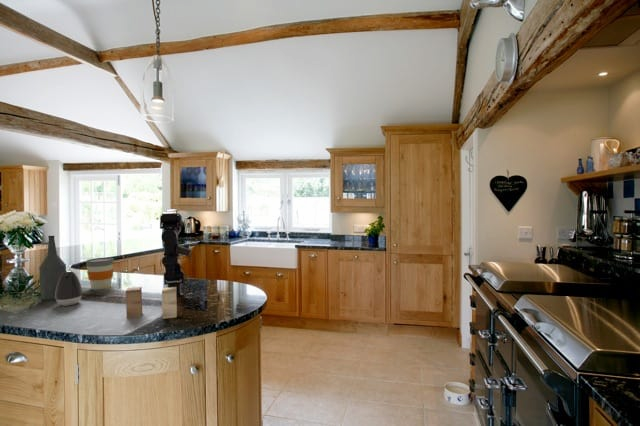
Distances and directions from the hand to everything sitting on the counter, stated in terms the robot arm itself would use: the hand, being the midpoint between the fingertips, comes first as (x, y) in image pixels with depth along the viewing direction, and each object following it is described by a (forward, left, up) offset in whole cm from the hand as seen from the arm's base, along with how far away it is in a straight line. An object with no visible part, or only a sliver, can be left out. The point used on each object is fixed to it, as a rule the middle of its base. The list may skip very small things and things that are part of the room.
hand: (171, 275), depth 158 cm
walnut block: (+3, -17, -13) cm, 21 cm away
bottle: (-54, -36, -13) cm, 66 cm away
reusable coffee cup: (-59, -15, -13) cm, 62 cm away
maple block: (+14, -7, -13) cm, 20 cm away
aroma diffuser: (-35, -33, -13) cm, 50 cm away
